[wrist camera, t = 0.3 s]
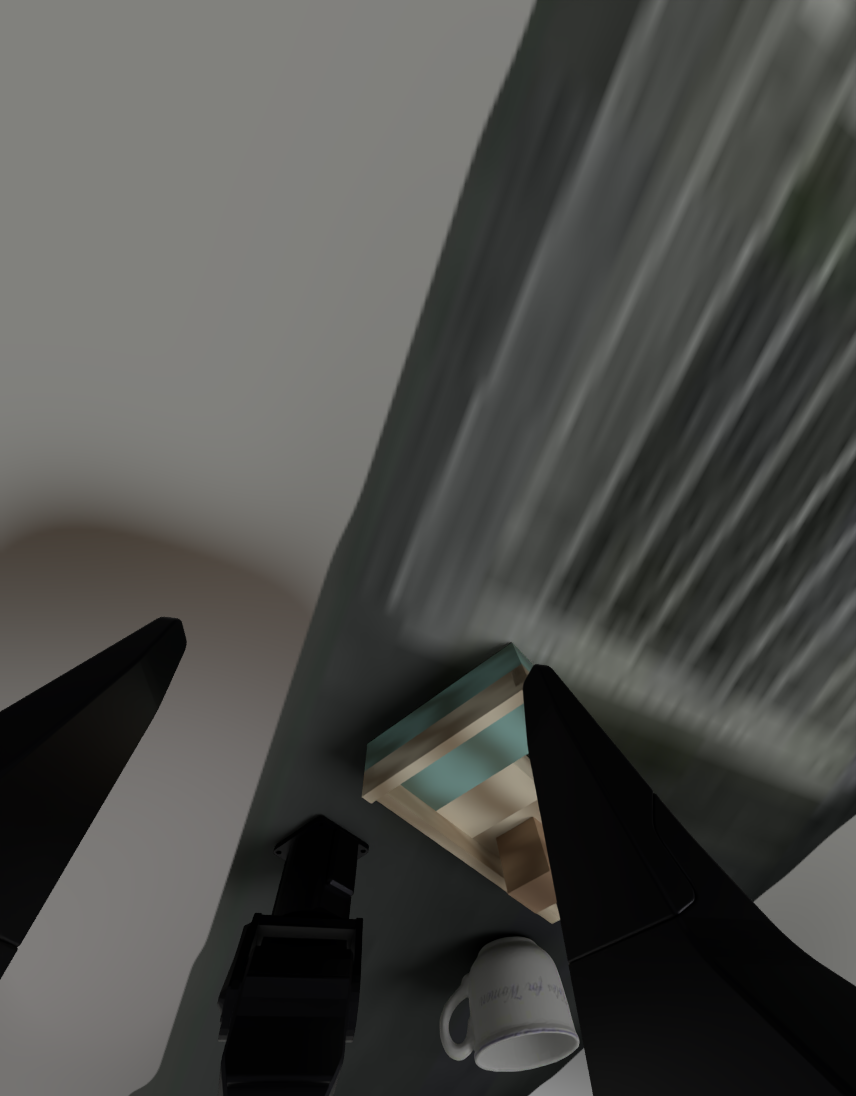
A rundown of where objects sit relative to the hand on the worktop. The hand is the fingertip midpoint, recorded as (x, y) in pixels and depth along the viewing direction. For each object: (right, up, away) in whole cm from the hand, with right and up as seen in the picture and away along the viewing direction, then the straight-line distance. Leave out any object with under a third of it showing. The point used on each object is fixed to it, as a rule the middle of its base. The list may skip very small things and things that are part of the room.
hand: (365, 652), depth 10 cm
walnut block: (+10, -23, +24) cm, 35 cm away
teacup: (+10, -45, +35) cm, 58 cm away
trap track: (+11, -18, +24) cm, 32 cm away
